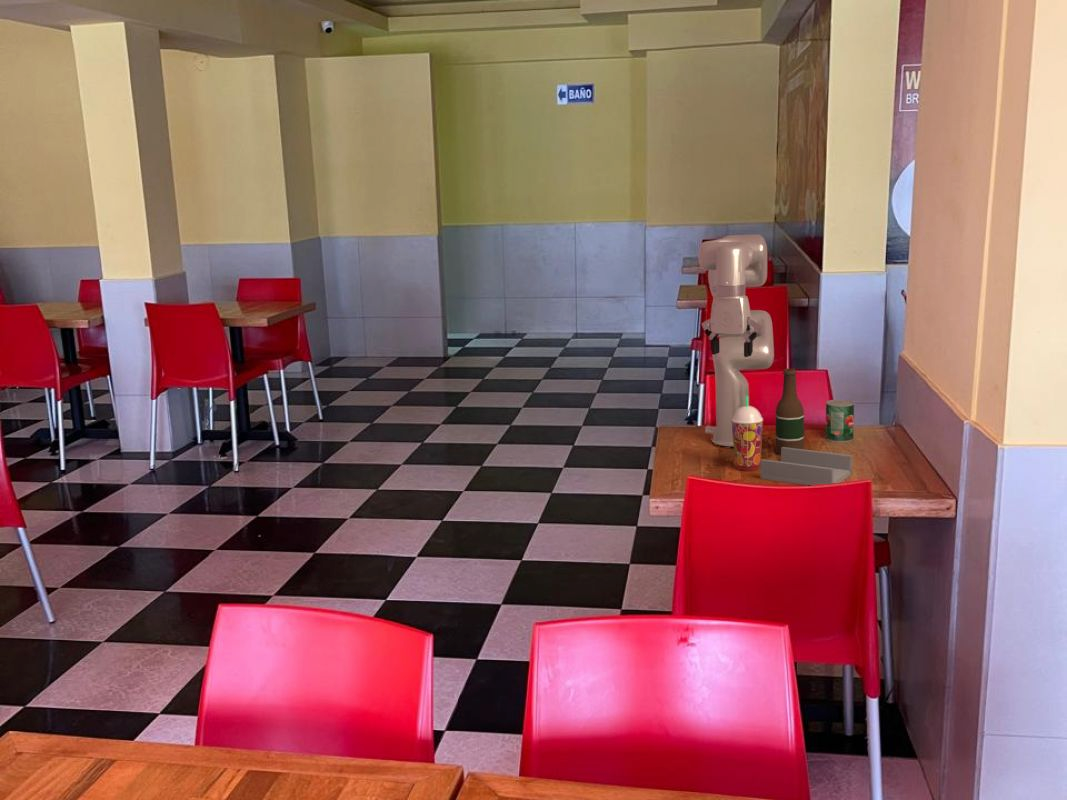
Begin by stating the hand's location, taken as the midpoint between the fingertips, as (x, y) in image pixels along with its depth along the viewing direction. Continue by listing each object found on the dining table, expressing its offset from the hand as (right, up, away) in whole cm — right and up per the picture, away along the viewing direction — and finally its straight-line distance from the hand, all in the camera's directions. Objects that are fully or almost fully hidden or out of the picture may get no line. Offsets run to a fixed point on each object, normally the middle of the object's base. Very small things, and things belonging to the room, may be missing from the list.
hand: (731, 354), depth 271 cm
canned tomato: (+37, -24, +25) cm, 50 cm away
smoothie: (+5, -31, +2) cm, 31 cm away
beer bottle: (+19, -27, +14) cm, 36 cm away
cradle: (+18, -32, -8) cm, 38 cm away
